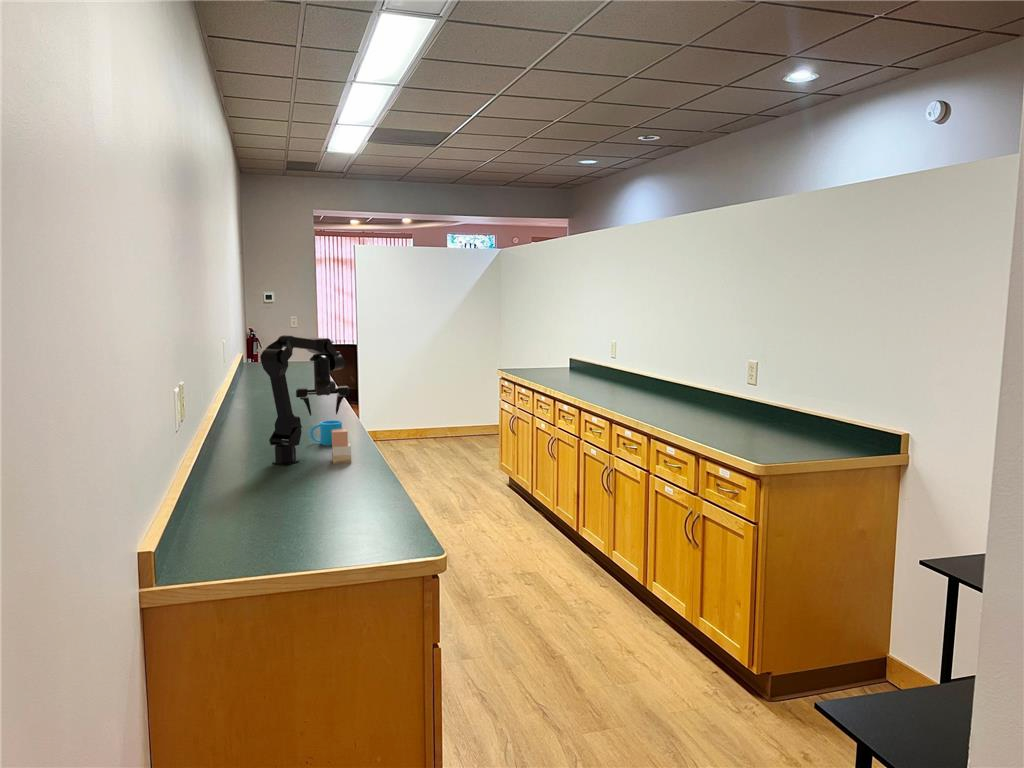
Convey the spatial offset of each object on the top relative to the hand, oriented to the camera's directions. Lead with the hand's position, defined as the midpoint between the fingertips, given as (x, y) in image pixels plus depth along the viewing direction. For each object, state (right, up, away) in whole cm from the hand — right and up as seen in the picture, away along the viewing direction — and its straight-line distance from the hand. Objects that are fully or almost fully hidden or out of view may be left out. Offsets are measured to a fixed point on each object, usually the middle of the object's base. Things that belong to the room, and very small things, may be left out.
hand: (323, 414), depth 273 cm
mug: (-3, -12, +15) cm, 19 cm away
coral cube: (+10, -10, -16) cm, 21 cm away
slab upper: (+10, -13, -16) cm, 22 cm away
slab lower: (+10, -16, -15) cm, 24 cm away
